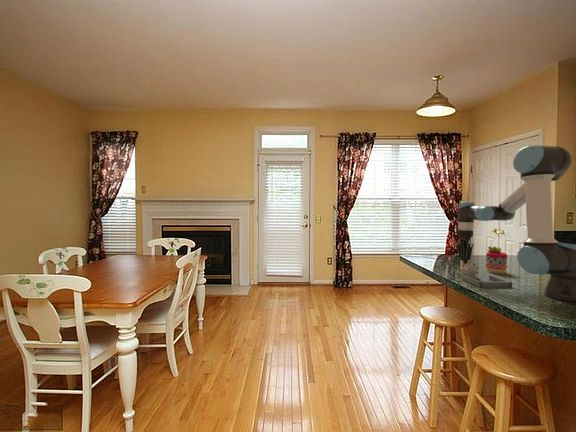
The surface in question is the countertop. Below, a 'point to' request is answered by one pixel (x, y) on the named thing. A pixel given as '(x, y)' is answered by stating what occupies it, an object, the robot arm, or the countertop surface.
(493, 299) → the countertop surface
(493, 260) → the cake
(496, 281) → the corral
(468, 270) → the translucent lumpy piece
